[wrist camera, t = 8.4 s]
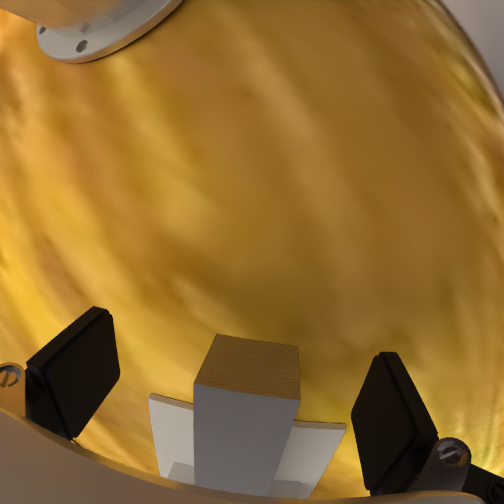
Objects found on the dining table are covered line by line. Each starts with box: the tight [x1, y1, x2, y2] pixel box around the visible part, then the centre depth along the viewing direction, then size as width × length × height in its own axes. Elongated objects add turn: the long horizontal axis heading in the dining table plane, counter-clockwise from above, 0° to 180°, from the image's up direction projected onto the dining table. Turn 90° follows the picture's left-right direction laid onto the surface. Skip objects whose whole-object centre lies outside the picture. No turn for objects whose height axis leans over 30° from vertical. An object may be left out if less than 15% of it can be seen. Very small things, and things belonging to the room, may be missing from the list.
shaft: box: [193, 334, 300, 497], centre depth 11 cm, size 20×3×3 cm, turn 173°
